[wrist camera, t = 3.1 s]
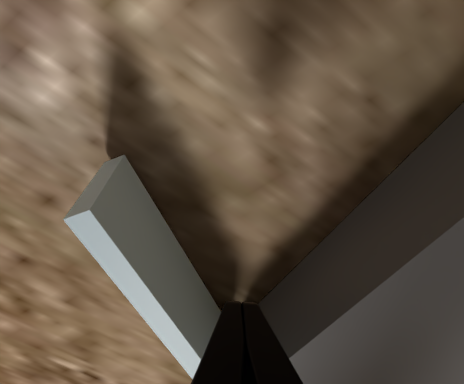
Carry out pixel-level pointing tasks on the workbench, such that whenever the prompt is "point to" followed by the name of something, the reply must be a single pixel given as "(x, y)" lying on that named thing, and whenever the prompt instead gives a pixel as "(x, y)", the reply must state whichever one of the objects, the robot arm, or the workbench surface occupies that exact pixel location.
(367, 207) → the camera block
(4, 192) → the workbench surface
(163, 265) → the side door
